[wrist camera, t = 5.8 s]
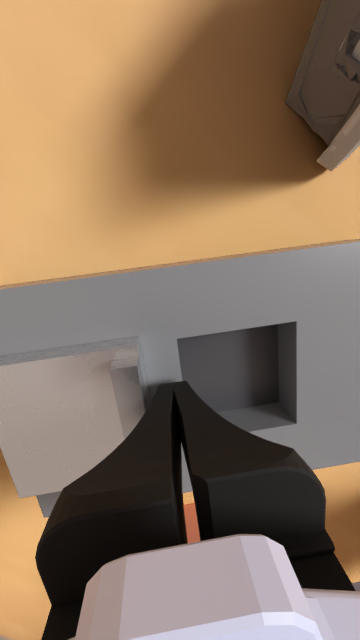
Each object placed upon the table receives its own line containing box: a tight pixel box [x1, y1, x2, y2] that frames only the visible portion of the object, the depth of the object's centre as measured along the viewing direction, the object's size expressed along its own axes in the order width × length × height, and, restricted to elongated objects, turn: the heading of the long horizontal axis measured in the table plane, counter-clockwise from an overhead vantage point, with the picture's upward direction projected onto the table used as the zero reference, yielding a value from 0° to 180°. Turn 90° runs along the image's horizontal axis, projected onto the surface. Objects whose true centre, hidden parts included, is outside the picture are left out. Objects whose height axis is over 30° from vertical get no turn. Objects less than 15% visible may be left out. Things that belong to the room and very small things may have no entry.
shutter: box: [0, 336, 151, 498], centre depth 11 cm, size 6×6×2 cm
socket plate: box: [0, 239, 360, 518], centre depth 14 cm, size 18×12×2 cm, turn 97°
